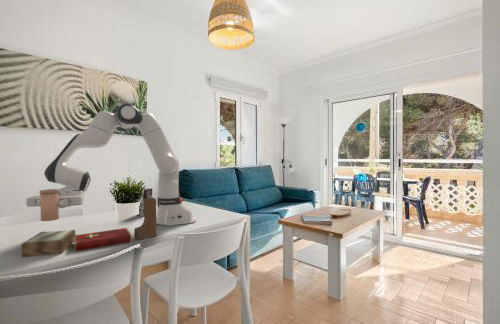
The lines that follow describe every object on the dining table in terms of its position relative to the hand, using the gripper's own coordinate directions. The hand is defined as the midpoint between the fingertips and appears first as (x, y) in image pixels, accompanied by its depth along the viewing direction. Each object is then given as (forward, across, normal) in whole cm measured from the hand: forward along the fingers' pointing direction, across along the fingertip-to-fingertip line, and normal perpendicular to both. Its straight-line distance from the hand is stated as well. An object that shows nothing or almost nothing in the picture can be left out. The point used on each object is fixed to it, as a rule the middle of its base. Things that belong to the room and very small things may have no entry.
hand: (48, 203), depth 107 cm
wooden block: (-6, +36, +19) cm, 41 cm away
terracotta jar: (-1, 0, +6) cm, 7 cm away
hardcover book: (-3, +19, +19) cm, 27 cm away
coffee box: (-54, +31, +19) cm, 65 cm away
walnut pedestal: (-1, 0, +19) cm, 19 cm away
